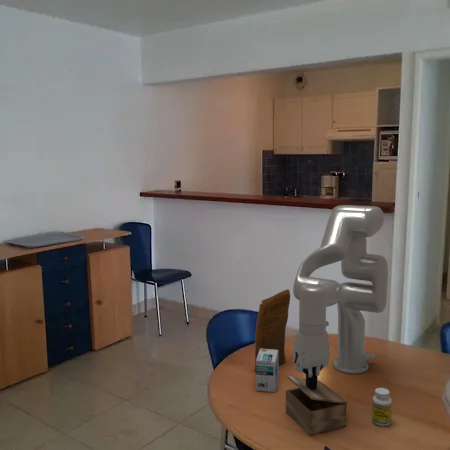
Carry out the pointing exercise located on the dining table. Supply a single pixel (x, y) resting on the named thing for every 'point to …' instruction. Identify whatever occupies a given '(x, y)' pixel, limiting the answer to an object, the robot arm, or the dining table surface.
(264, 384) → the light bulb box
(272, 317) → the pancake mix bag
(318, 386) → the lid
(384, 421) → the supplement bottle
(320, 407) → the wooden box
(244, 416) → the dining table surface
